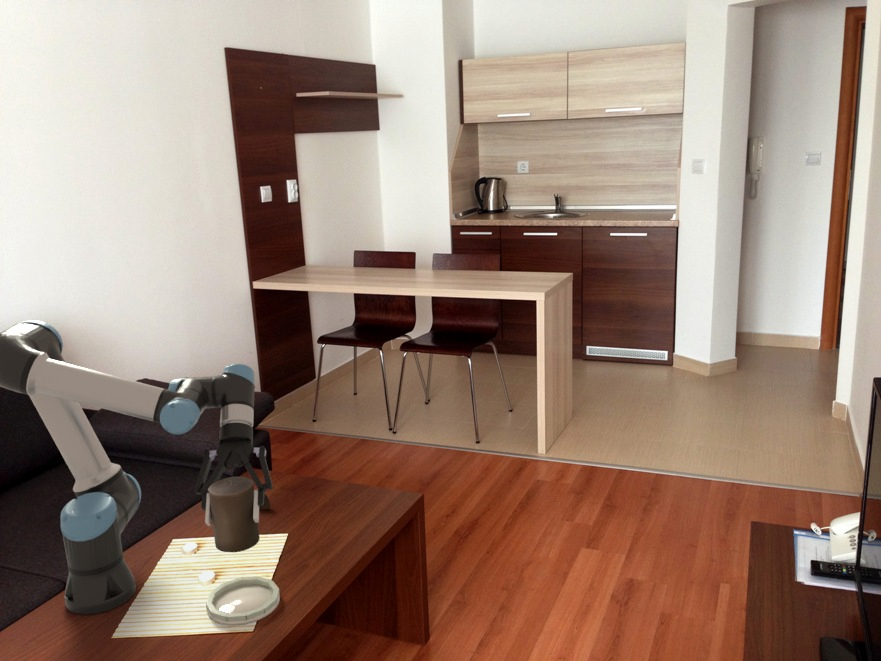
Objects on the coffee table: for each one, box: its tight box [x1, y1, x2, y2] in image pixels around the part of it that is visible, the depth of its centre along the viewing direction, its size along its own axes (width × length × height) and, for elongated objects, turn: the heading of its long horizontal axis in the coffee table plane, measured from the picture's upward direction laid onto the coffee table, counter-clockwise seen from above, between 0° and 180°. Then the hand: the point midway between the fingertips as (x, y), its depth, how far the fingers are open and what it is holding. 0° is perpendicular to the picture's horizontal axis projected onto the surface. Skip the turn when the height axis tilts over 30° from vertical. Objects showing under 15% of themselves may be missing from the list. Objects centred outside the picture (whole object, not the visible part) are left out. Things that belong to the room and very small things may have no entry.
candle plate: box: [205, 576, 281, 626], centre depth 177 cm, size 16×16×2 cm
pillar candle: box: [208, 476, 260, 553], centre depth 173 cm, size 10×10×15 cm
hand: (232, 522), depth 170 cm, fingers closed on pillar candle, 9 cm apart
